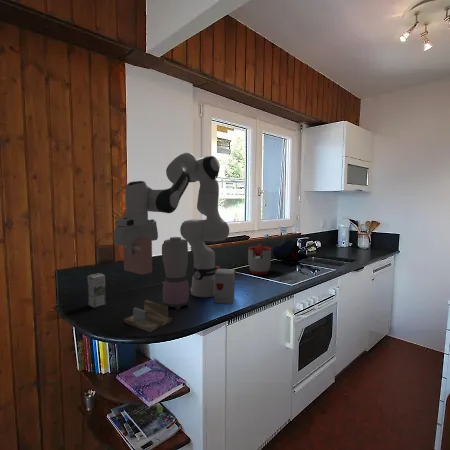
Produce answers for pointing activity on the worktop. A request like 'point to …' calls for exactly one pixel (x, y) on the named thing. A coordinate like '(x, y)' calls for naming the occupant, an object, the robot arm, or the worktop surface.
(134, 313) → the grey thin rectangular slab
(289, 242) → the dark blue bag
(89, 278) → the syrup box
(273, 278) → the worktop surface
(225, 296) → the supplement box
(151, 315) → the beige panel with ridge
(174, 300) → the blender
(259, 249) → the citrus juicer
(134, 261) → the boxed book
